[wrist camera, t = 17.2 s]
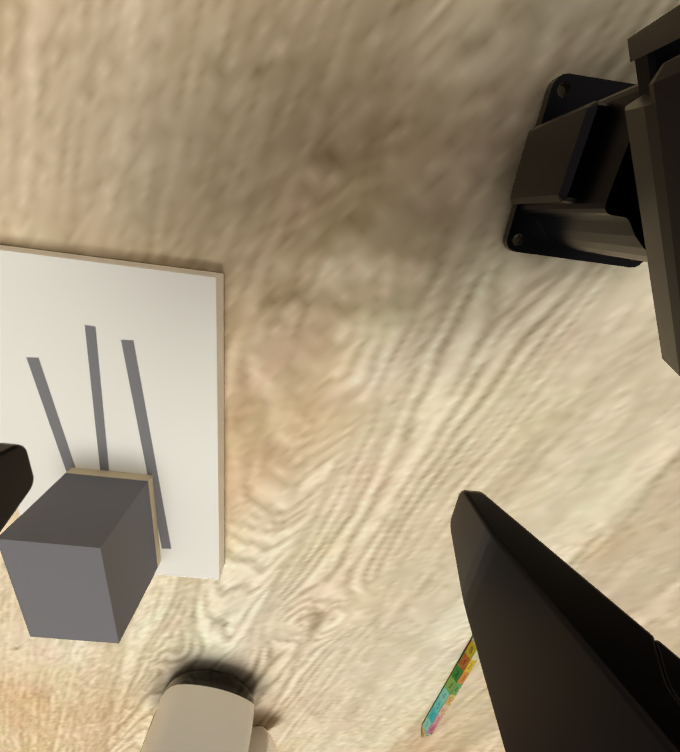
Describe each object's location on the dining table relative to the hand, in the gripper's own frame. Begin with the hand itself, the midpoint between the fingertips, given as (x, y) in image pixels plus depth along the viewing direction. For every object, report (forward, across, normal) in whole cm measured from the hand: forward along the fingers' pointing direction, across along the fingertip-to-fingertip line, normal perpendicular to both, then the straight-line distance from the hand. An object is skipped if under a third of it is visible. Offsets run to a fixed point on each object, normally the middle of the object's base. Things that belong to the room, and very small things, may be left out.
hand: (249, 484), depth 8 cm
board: (+12, +10, +8) cm, 18 cm away
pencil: (+13, -16, +30) cm, 36 cm away
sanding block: (+11, +10, +13) cm, 20 cm away
